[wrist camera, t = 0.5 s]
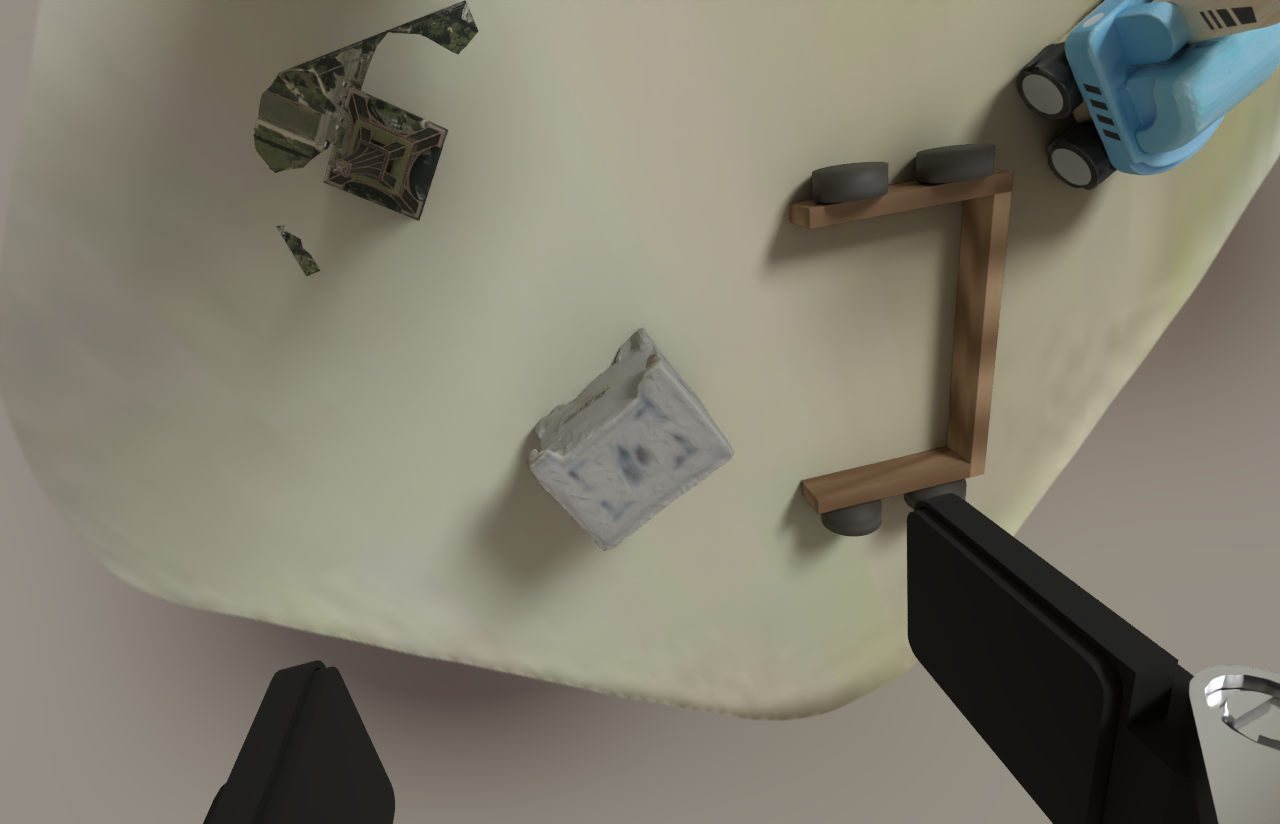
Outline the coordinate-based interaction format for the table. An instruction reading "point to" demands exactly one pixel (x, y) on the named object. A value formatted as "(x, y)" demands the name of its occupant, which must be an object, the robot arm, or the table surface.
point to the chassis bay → (986, 208)
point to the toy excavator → (1148, 81)
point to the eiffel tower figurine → (357, 124)
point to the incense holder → (627, 444)
